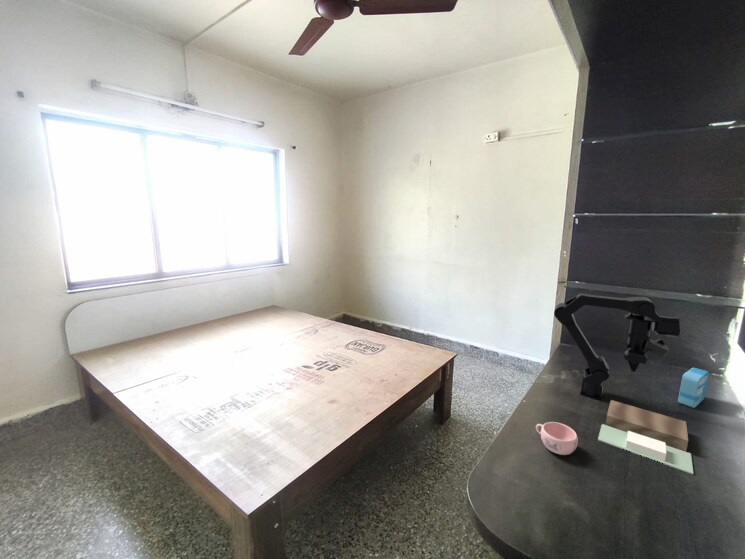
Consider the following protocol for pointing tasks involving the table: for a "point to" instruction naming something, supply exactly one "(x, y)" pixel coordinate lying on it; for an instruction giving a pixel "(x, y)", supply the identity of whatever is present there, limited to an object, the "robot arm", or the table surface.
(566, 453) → the mug
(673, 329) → the robot arm
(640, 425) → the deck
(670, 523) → the table surface
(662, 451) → the tile
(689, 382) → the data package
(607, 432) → the mat
